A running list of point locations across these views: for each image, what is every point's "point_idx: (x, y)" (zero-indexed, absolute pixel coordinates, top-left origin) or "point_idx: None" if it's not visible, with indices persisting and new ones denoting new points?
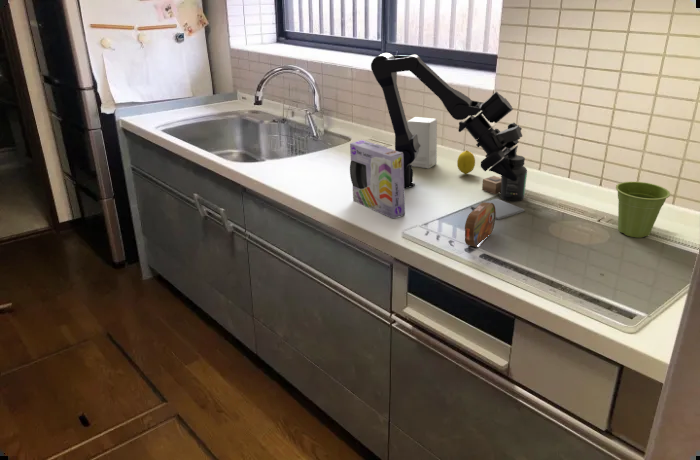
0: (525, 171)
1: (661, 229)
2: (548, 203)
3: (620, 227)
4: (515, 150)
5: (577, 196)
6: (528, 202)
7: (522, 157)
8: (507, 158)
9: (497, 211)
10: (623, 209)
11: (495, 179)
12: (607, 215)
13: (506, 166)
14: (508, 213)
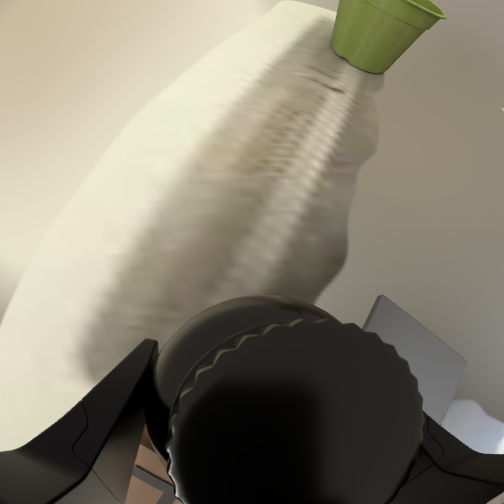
0: (308, 303)
1: (316, 23)
2: (250, 208)
3: (387, 66)
4: (43, 498)
5: (137, 120)
6: (270, 293)
7: (283, 361)
8: (484, 475)
9: (431, 382)
10: (416, 38)
11: (143, 492)
12: (287, 68)
13: (458, 445)
14: (434, 340)
